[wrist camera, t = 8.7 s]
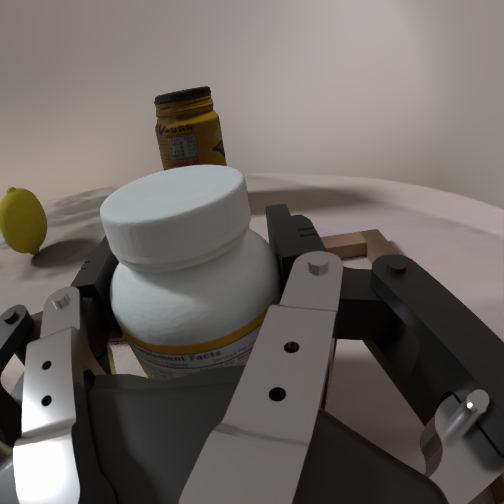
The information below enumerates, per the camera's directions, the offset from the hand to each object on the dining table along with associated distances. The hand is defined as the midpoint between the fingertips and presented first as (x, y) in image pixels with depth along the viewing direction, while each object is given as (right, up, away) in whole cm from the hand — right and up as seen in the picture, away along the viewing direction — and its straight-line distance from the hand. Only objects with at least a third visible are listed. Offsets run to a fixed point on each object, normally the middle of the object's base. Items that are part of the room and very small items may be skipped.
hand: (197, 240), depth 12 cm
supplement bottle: (+1, -7, +1) cm, 7 cm away
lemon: (-21, -1, +17) cm, 27 cm away
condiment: (-3, +3, +19) cm, 20 cm away
